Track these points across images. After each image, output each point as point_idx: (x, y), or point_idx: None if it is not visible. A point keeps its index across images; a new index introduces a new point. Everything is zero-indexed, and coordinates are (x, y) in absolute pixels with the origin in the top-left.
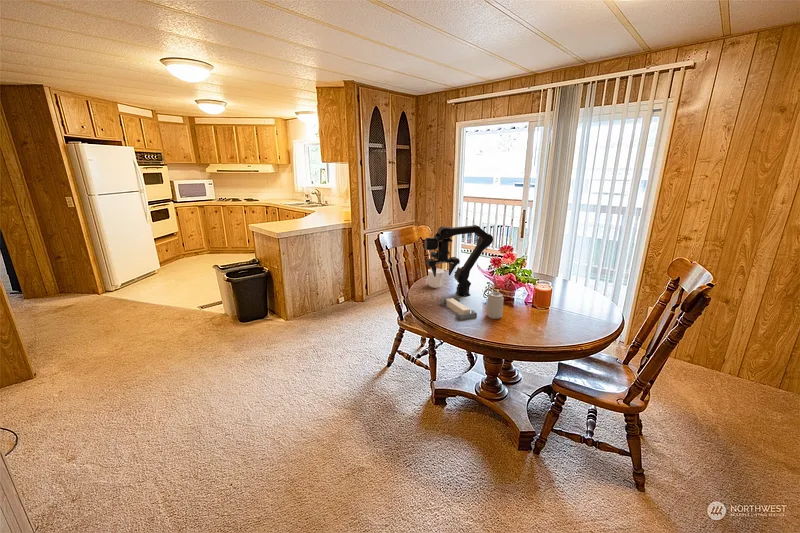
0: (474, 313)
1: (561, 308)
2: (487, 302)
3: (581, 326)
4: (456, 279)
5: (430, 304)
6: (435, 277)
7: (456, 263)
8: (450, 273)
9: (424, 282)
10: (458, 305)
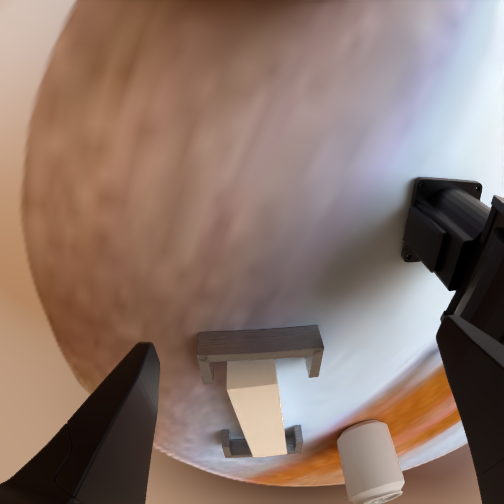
0: (289, 453)
1: None
2: (354, 472)
3: (464, 435)
4: (467, 308)
5: (133, 322)
6: None
7: None
8: (451, 375)
9: None
10: (256, 437)
